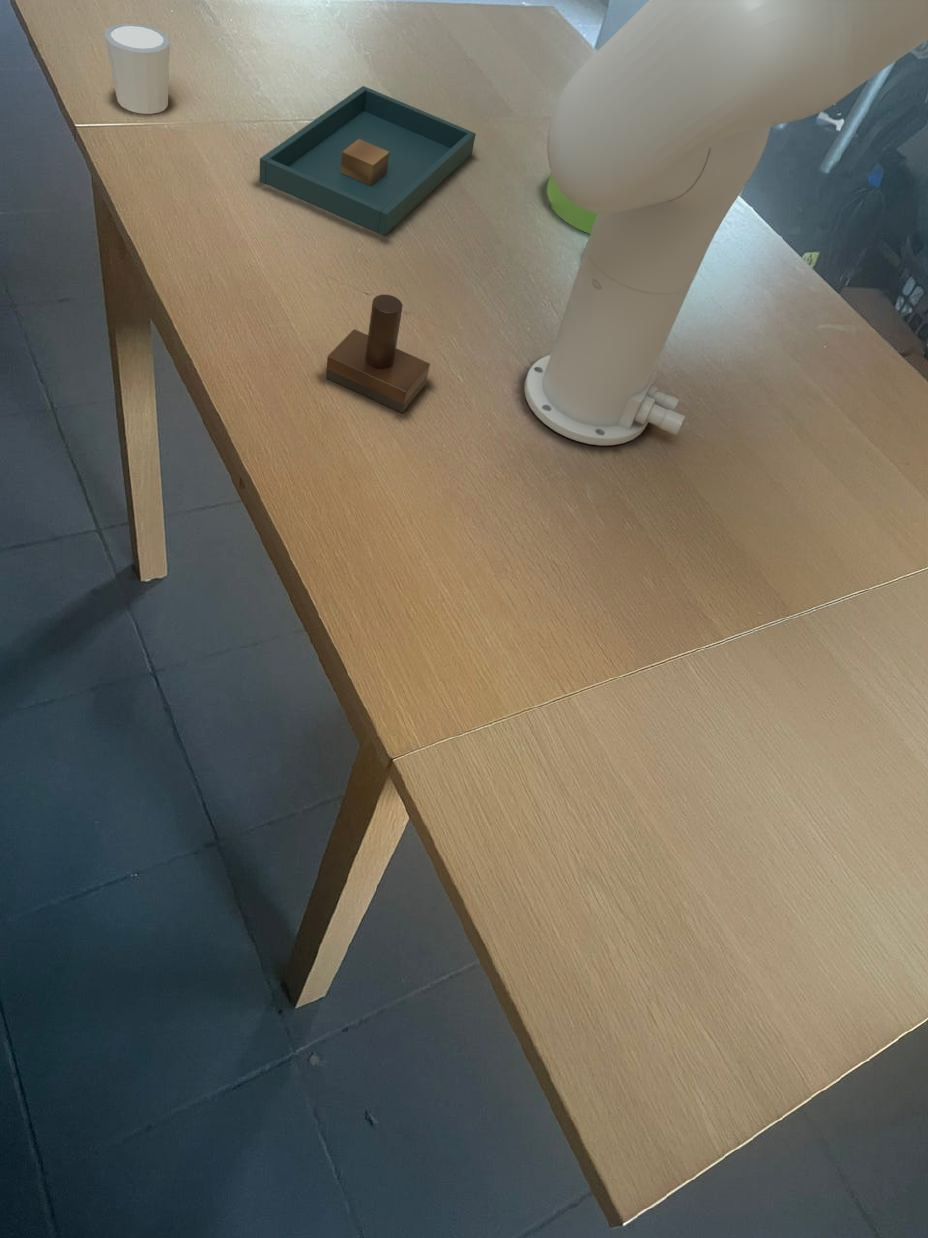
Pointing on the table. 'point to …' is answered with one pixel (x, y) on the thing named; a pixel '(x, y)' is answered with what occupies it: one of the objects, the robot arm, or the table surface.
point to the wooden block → (364, 162)
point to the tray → (409, 134)
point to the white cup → (139, 66)
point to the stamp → (379, 360)
